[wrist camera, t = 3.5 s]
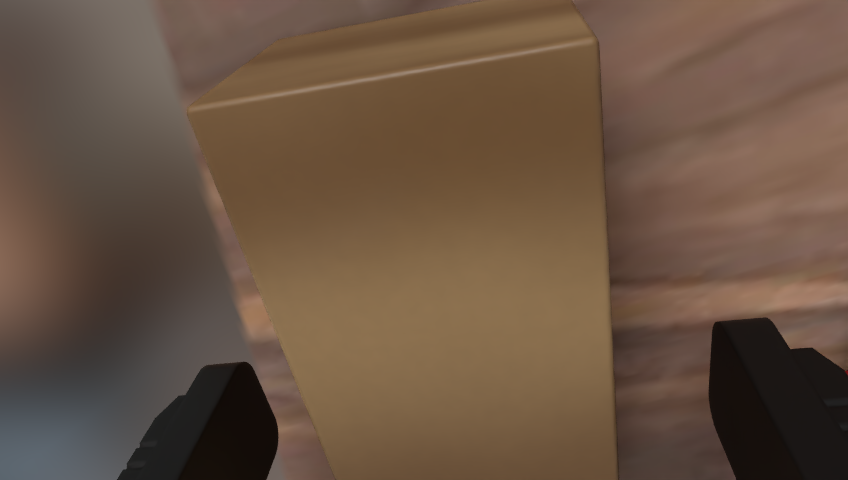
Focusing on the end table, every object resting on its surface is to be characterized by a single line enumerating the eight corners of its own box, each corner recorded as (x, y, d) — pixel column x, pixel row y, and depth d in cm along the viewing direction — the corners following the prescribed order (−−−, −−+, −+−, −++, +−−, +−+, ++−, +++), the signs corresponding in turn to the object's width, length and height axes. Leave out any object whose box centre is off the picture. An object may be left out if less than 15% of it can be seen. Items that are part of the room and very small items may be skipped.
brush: (303, 18, 10) (181, 108, 6) (553, -31, 9) (598, 36, 5) (436, 491, 16) (418, 690, 12) (593, 484, 15) (630, 695, 11)
